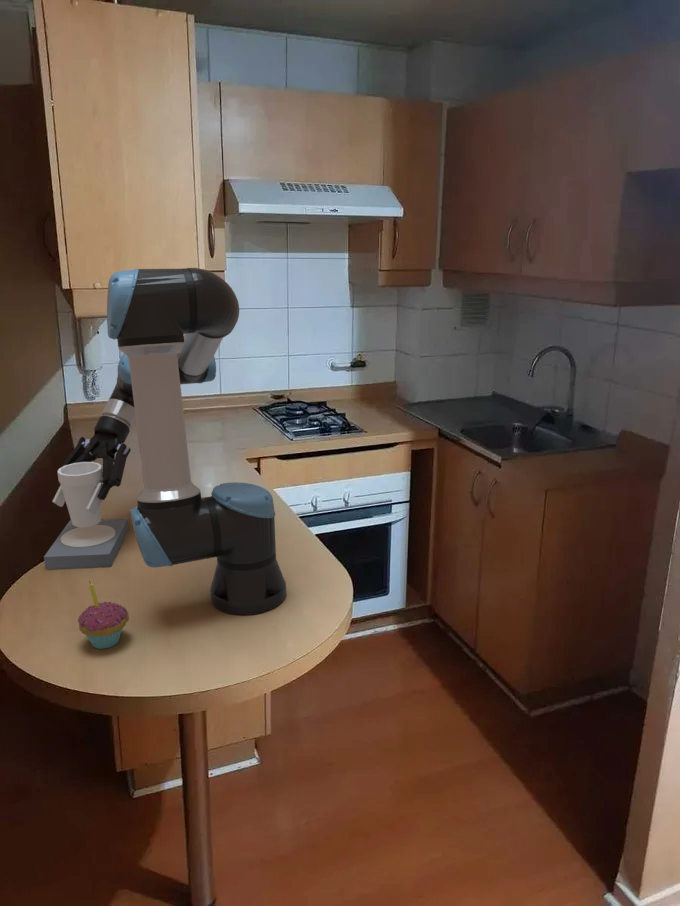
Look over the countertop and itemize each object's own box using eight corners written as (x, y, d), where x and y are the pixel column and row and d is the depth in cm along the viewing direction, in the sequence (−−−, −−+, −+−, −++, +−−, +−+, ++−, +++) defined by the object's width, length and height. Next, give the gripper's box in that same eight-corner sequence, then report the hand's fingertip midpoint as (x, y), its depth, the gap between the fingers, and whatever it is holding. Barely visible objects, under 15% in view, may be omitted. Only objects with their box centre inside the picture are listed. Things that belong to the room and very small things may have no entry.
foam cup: (93, 510, 169) (87, 459, 165) (116, 520, 164) (110, 467, 160) (57, 523, 162) (49, 470, 158) (79, 533, 157) (71, 478, 153)
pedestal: (110, 566, 156) (109, 552, 155) (45, 569, 155) (43, 555, 154) (129, 529, 175) (127, 517, 174) (71, 531, 174) (69, 519, 173)
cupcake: (71, 649, 125) (62, 589, 122) (102, 625, 133) (94, 567, 129) (110, 659, 122) (102, 597, 119) (140, 633, 130) (134, 575, 126)
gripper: (161, 435, 166) (121, 522, 157) (89, 425, 175) (48, 506, 166) (143, 419, 160) (101, 508, 151) (71, 409, 169) (27, 493, 160)
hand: (73, 507), depth 159 cm, fingers closed on foam cup, 9 cm apart
